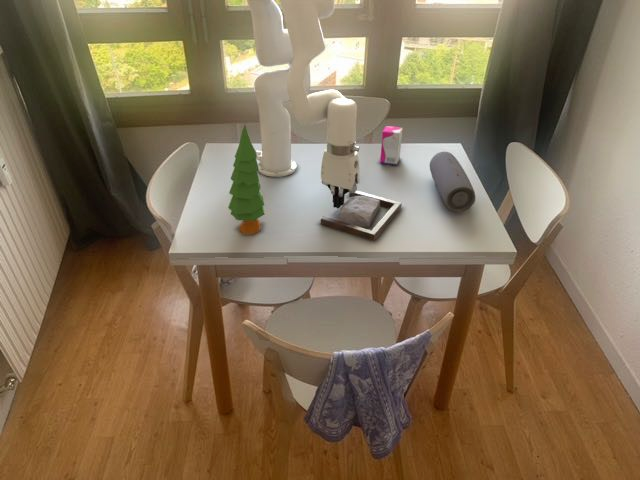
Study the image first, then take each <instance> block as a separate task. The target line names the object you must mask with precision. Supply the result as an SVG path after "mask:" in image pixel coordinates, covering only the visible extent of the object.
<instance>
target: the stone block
mask: <svg viewBox="0 0 640 480" xmlns="http://www.w3.org/2000/svg"><path fill="white" fill-rule="evenodd" d="M380 207H381V206H380V201H379V200H376V199H373V198H370V197H366V196H354V197H348V198H347V200H345V201H344V204H343V205H342V206H341V207H340V208H339V211H338V219H339V221H342V222H345V223H348V224H352V225H355V226H358V227H362V228H365V229H368V228H369V227H370V226H371V224H372V222H373V221H374V219H375V217H376V215H377V213H378V212H379V210H380Z"/></svg>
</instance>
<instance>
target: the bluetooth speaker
mask: <svg viewBox="0 0 640 480" xmlns="http://www.w3.org/2000/svg"><path fill="white" fill-rule="evenodd" d="M429 171H430V174H431V178H432V180H433V183H434V186H435V188H436V190H437V192H438V194H439V197H440V198H441V200H442V201H443V203H444V204H445V206H446V208H447V209H448V210H450V211H451V212H454V213H462V212H466V211H468V210H469V209H471V208H472V207H473V206H474V204H475V202H476V193H475V189H474V187H473V185H472V182H471V181H470V178H469V177H468V175H467V173H466V172H465V170H464V168H463V166H462V165H461V163H460V161H459V160H458V159H457V157H456V156H454V154H453V153H451V152H449V151H440V152H437V153H436V154H434V155H433V157H431V159H430V161H429Z"/></svg>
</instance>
